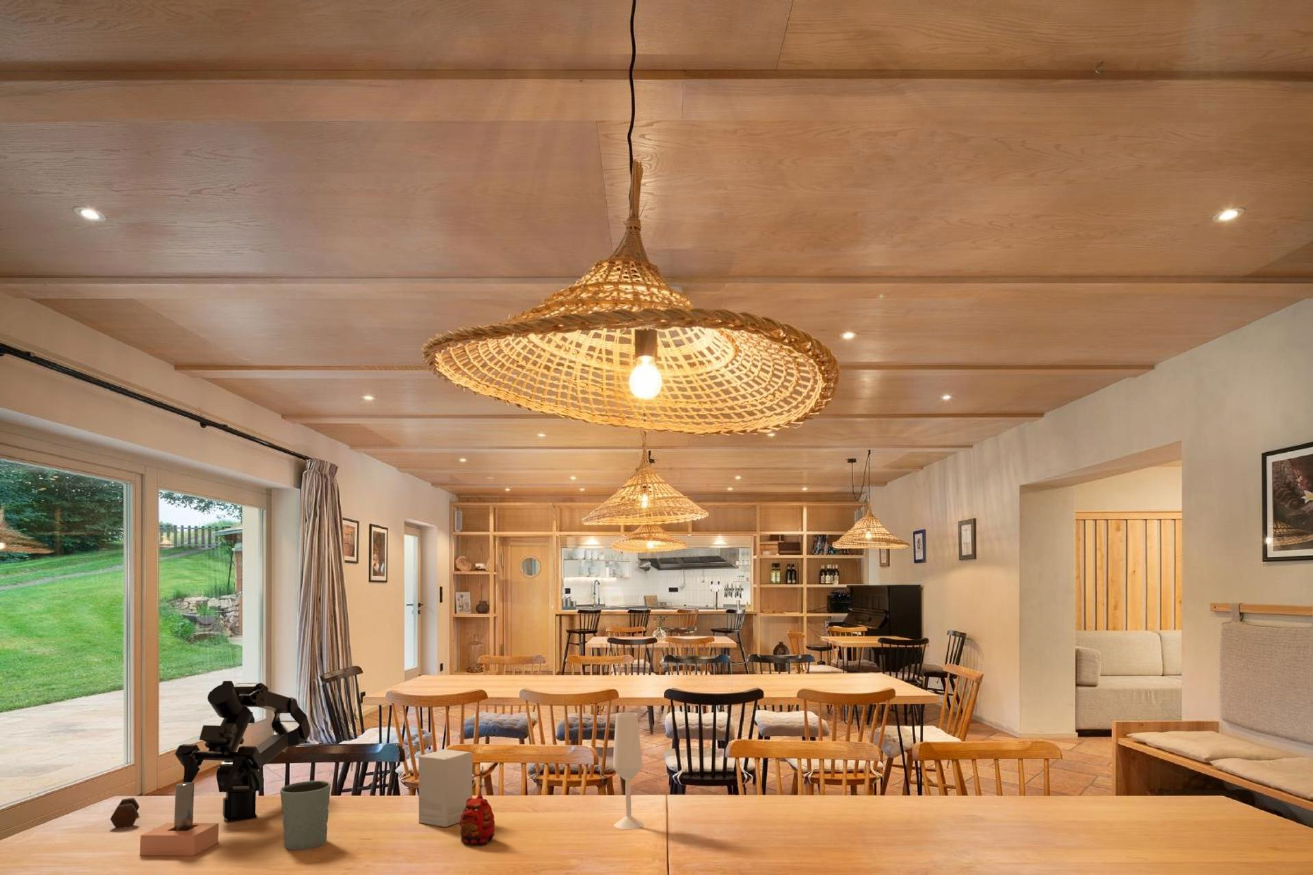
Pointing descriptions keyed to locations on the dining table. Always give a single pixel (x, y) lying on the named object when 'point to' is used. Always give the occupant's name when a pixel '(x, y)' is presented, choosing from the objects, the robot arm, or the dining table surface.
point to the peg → (184, 806)
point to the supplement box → (444, 786)
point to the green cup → (305, 814)
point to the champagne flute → (627, 760)
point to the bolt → (125, 813)
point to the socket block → (179, 840)
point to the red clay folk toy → (477, 819)
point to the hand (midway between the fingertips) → (203, 790)
